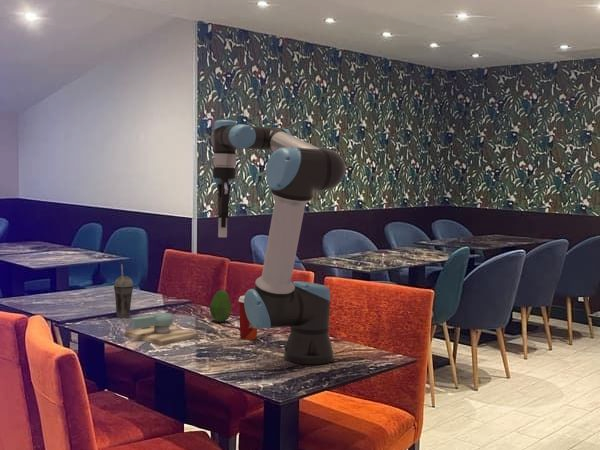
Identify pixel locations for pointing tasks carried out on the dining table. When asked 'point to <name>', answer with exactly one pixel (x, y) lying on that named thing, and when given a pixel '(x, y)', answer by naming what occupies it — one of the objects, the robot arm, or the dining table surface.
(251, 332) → the paper cup
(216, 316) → the avocado
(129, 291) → the beverage cup
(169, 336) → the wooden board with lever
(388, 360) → the dining table surface
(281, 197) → the robot arm
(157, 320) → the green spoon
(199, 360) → the dining table surface
